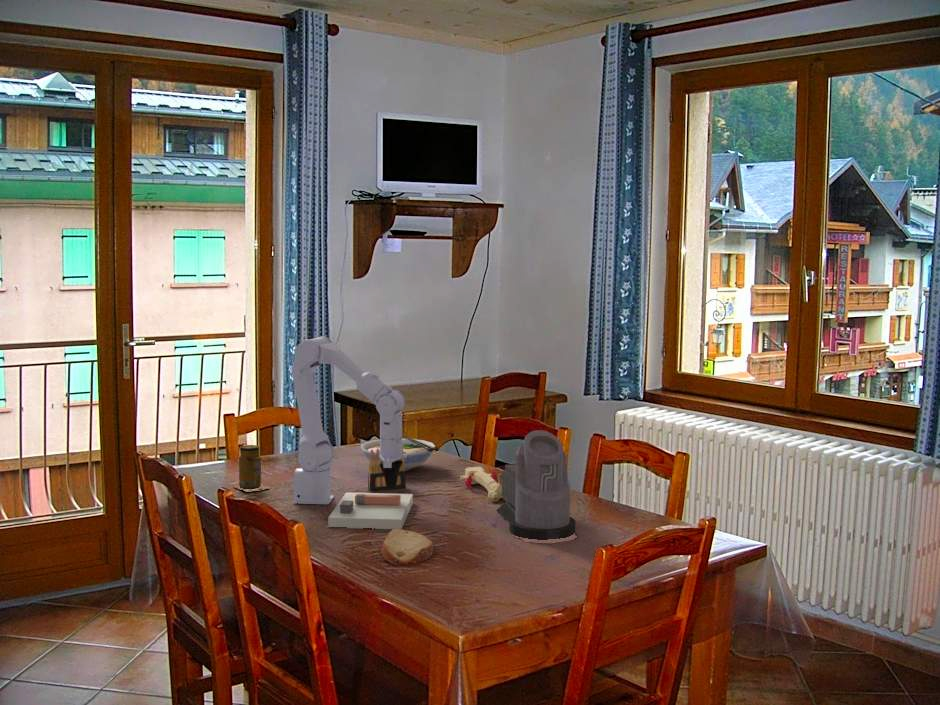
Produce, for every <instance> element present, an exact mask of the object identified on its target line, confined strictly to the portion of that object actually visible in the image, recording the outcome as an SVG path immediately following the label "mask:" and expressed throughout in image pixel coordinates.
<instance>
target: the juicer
mask: <svg viewBox="0 0 940 705" xmlns="http://www.w3.org/2000/svg"><path fill="white" fill-rule="evenodd" d="M567 462H568V461H567V453H566V452H565V451H564V446H563V443H562V441H561V440H560V439H559V438H558V437H557V436H556V435H554V434H553V433H551V432H550V431H546V430H542V429H540V430H539V429H538V430H537V429H535V430H533V431H530V432H528V433H527V434H526V435H525V437H524V439H523V444H521V445H520V446H519V447H518V448H517V449H516V453H515V463H514V464H513V463H512V464H505V465H504V467H505V468H504V469H503V470H501V474H502V487H501V489H502V496H503V497H504V498H506V500H507V502H505V501H504V502H503V504H501V505H500V506H499V507H498V508H497V509H496V510H495V512H496V511H497V512H498V513H499V514H501V516H503V517H504V518H505V519H506V520H507V521H508V522H509V523H508V522H507V521H506V520H505V519H504V518H503V517H502V518H503V519H504V520H505V521H506V522H507V523H508V525H509V526H508V529H509V531H510V532H511V534H513V535H515V536H518V537H522V538H528V539H537V540H548V539H557V538H558V539H560V538H566V537H569V536H571V535H573V534H574V533H575V534H576V525H577V524H576V522H577V521H576V520H575V519H574V518H573V517H571V510H570V509H571V485H570V481H569V477H568V476H569V475H568V463H567ZM503 497H502V498H503ZM497 512H496V513H497ZM498 513H497V514H498ZM499 514H498V515H499ZM501 516H500V517H501ZM510 532H509V533H510ZM511 534H510V535H511Z"/></svg>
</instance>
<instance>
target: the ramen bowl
mask: <svg viewBox="0 0 940 705" xmlns="http://www.w3.org/2000/svg"><path fill="white" fill-rule="evenodd" d="M360 448H361V450H362V453H364V456H365V457H366V458H367V460H368V462H369V461H370V451H371V449H372V450H373V453H374V463H375V459H376V451H377V448H378V449H379V453H380V439H374V440H373V439H372V440H370V441H367V442H363V443H362V444H361V445H360ZM402 448H403V453H404V454H407V457H406V458H404V471H405V472H409V471H410V470H411V469H414V468H417V467H419V466H421V465H423V464H424V463H425V462H427V460H428V459H429V458H430V457H431V455H432V453H433V452H439V449H438V448H436V445H435V444H434V443H433V442H430V441H426V440H424V439H423V440H422V439H416V438H411V437H409V436H406V435H402ZM380 462H381V459H380Z"/></svg>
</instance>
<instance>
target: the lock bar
mask: <svg viewBox="0 0 940 705" xmlns="http://www.w3.org/2000/svg"><path fill="white" fill-rule="evenodd" d="M400 503H401V495H369V494H356V495H355V504H383V505H400Z"/></svg>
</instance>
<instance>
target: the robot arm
mask: <svg viewBox="0 0 940 705" xmlns="http://www.w3.org/2000/svg"><path fill="white" fill-rule="evenodd" d="M294 354H295V355H294V359H293V363H292V367H291V375H292V379H293V380H292V381H293V387H294V391H295V392H294V393H295V399H296V402H297V403H296V404H297V408H298V416H299V420H300V426H301V432H302V433H301V434H302V437H301V438H300V440H299V442H298V448H299V452H298V455H297V461H298V463H299V464H298V465H300V467H298V468H296V469H295V471H294V474H293V475H294V476H293V504H297V503H298V504H297V505H299V504H300V505H329V504H330V503H331V501H332V500H333V499H334V497H335V496H334V495H333V494H331V462H332V460H333V459H334V458H335V448H334V447H333V445H332V444H331V441H330V438H329V435H328V434H327V433H325V431H324V428H323V424H322V423H323V422H322V417H321V412H320V406H319V401H318V395H317V389H316V383H315V377H314V373H315V372H316V371H317V369H318V368H319V367H320V365H323V364H324V365H332V366H334V367H336V368H337V370H339V371H340V372H342V373H343V374H344V375H346V376H347V377H349V378H350V379H351V380H353V382H355V384H356V389H357V390H358V392H360V393H361V394H362V395H364V396H365V397H366V398H367V399H368V400H369V401H370V402H371V403H373V404H375V408H376V411H377V412H378V414H379V440H380V455H379V457H380V459H381V460H382V462H380V468H381V469H382V472H383V474H384V478H385V482H386V487H387V489H392V490H391V491H393V490H396V489H395V488H396V485H397V479H398V474H399V470H400V467H401V465H402V463H403V461H402V460H399V459H401V458H406V457H407V454H402V439H403V437H402V436H403V411H402V410H404V408H405V405H406V398H405V396H404V394H403V393H402V392H401V391H400V390H397V389H393V387H391V386H390V385H387V384H386V383H385V382H384V381H382V379H380V377H379V375H378V374H377V373H376V372H375V373H373V372H365V371H364V370H363V369H362V368H361V367H359V365H357V364H356V363H355V362H354V361H353V360H352V358H350V357H349V356H348V355H347V354H346V353H345V352H343V350H342V349H341V348H340V346H339V345H338V343H336V342H333V340H331V338H329V337H327V336H325V335H323V336H319V337H315V338H311V339H304V340H302V341H300V342H299V344H298V345H297V346H296V347H295V348H294Z"/></svg>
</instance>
